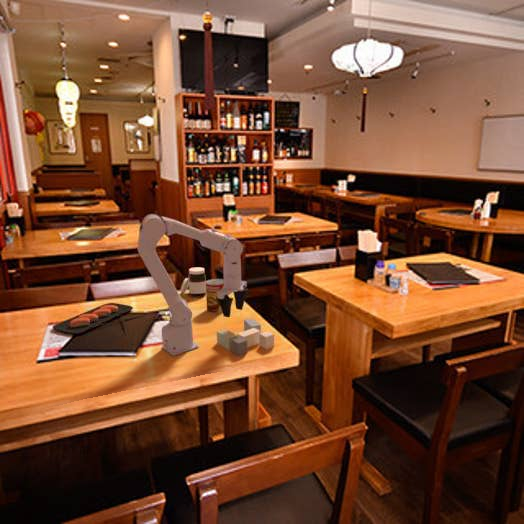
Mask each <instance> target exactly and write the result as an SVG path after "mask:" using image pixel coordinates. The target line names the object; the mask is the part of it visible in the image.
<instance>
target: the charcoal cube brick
mask: <svg viewBox="0 0 524 524" xmlns="http://www.w3.org/2000/svg"><path fill="white" fill-rule="evenodd" d="M232 354H234V355H236V356H238V357H241V356H243V355H246V354H248V348H247V340H245V339H244V338H242V337H239V338H236V339H233V340H232Z"/></svg>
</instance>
